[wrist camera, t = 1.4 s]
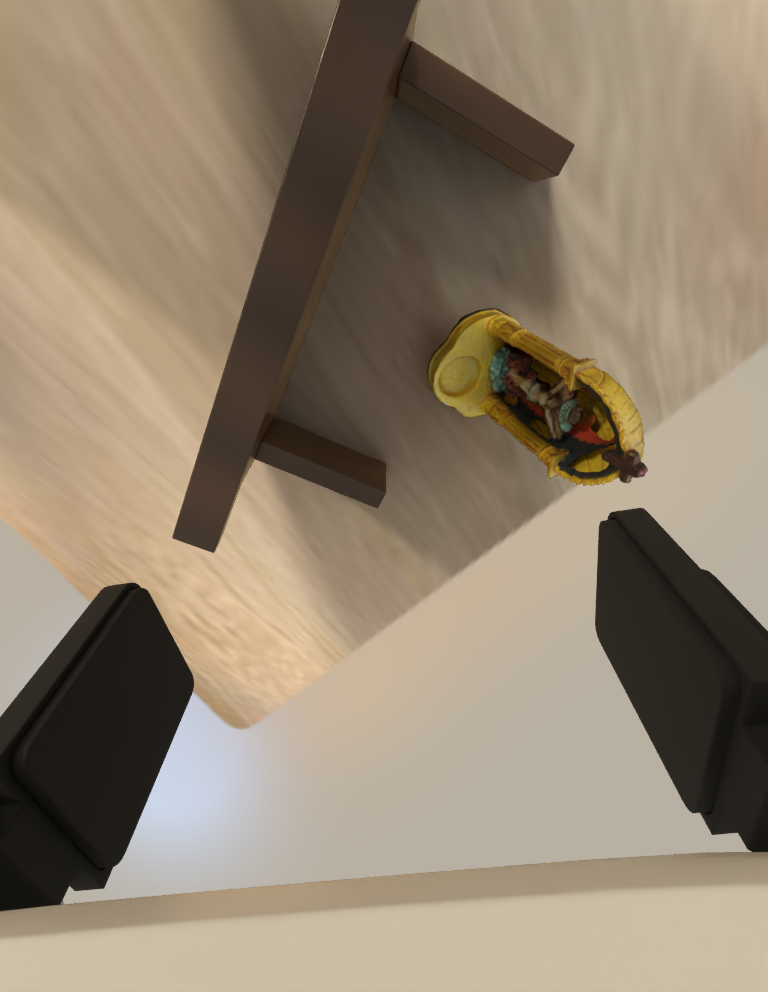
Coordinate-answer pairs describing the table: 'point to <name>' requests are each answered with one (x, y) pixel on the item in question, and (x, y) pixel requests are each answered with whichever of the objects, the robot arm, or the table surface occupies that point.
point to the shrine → (540, 398)
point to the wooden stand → (334, 246)
